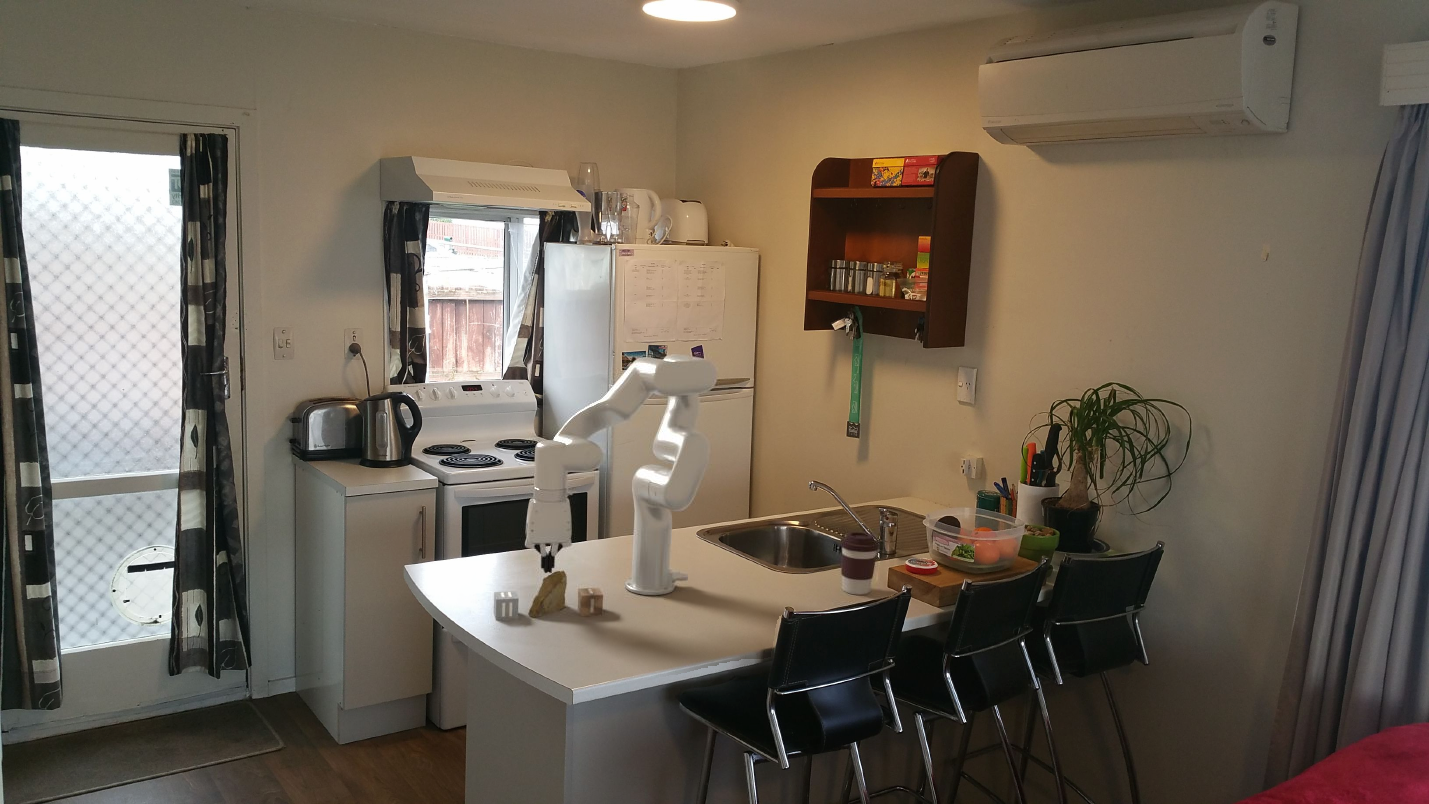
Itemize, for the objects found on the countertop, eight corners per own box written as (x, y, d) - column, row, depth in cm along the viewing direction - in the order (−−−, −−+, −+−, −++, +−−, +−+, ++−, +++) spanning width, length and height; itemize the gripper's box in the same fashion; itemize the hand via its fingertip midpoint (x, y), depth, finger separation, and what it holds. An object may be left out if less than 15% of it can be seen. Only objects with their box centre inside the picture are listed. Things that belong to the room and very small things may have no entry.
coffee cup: (882, 592, 271) (887, 536, 268) (860, 599, 263) (864, 542, 261) (851, 582, 277) (855, 527, 275) (829, 589, 270) (833, 533, 268)
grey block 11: (515, 611, 241) (516, 590, 241) (518, 619, 236) (518, 598, 236) (493, 612, 240) (494, 591, 239) (495, 620, 235) (496, 599, 234)
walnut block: (598, 608, 247) (599, 587, 246) (602, 615, 242) (603, 594, 241) (577, 608, 246) (578, 588, 245) (581, 616, 241) (582, 595, 240)
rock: (533, 613, 234) (575, 602, 239) (523, 578, 237) (565, 568, 242) (525, 627, 243) (565, 616, 248) (515, 593, 246) (555, 583, 251)
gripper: (579, 490, 245) (576, 565, 247) (515, 490, 240) (513, 567, 243) (585, 497, 237) (582, 575, 240) (519, 498, 233) (516, 577, 236)
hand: (547, 571), depth 241 cm, fingers closed
